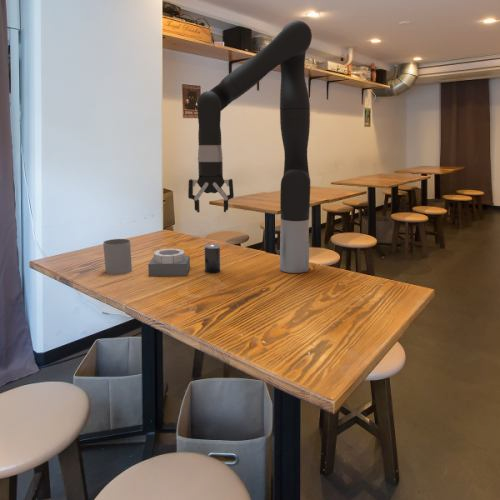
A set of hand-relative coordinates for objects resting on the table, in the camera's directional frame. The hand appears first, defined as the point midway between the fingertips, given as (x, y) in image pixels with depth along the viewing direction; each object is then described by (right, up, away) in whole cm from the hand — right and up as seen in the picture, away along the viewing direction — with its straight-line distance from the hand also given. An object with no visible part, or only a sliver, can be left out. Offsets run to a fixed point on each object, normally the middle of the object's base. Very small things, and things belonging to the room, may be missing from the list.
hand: (211, 211), depth 138 cm
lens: (0, -19, +5) cm, 20 cm away
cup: (-31, -19, +5) cm, 37 cm away
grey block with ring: (-14, -19, +4) cm, 24 cm away
